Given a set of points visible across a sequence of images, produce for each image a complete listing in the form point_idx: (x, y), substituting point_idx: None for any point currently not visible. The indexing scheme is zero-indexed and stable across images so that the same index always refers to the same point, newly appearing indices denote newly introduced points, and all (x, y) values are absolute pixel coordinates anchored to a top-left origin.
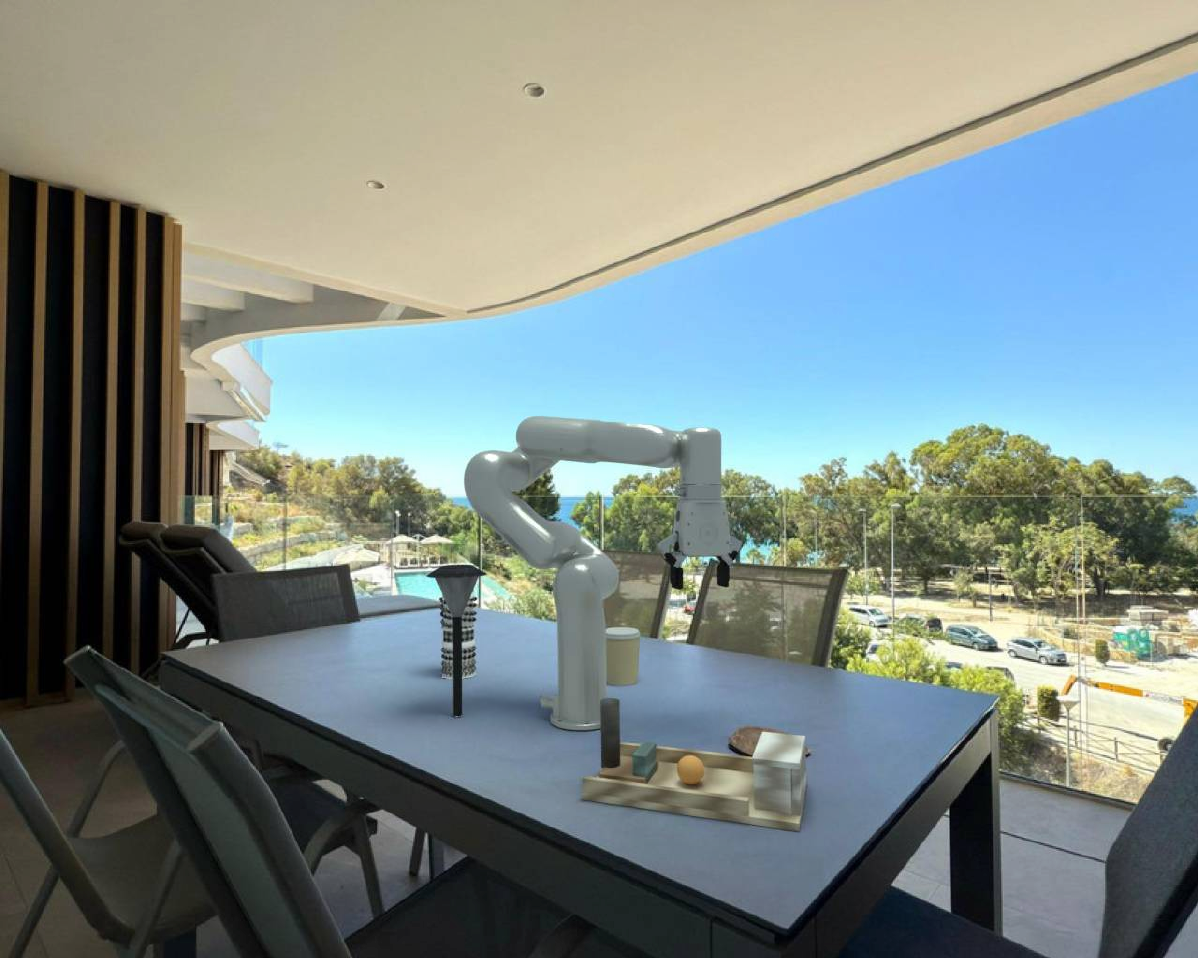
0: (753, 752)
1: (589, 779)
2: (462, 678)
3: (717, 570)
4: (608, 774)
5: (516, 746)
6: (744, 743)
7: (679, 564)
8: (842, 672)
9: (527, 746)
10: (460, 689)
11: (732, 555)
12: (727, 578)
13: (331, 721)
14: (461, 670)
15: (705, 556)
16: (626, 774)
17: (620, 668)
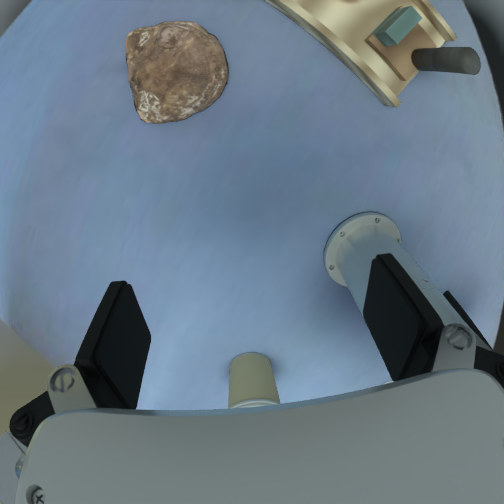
0: (212, 37)
1: (452, 31)
2: (389, 382)
3: (137, 386)
4: (429, 38)
5: (449, 195)
6: (215, 54)
7: (445, 343)
8: (2, 317)
9: (443, 190)
10: (459, 308)
11: (39, 419)
12: (107, 305)
13: (499, 299)
14: (467, 322)
15: (292, 403)
16: (414, 26)
17: (260, 369)
